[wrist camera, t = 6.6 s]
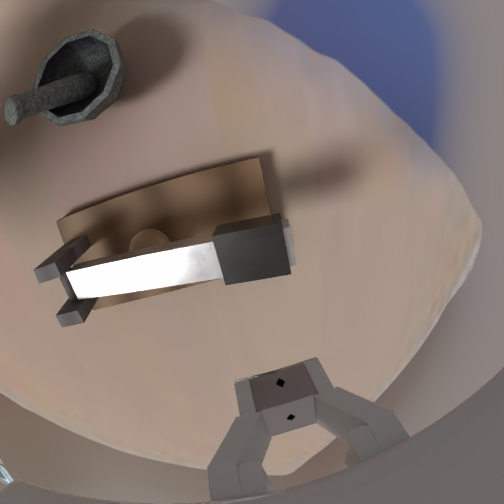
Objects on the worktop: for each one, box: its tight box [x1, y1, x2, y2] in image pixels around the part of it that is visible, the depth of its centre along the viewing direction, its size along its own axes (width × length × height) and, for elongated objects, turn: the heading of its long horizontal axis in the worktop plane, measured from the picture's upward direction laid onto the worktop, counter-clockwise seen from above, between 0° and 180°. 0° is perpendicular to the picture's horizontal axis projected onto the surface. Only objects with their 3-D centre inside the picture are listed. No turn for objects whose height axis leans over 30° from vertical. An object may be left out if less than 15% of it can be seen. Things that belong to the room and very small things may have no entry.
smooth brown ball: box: [129, 229, 170, 251], centre depth 27 cm, size 4×4×4 cm
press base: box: [34, 157, 271, 327], centre depth 26 cm, size 24×12×10 cm, turn 103°
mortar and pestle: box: [4, 29, 126, 126], centre depth 18 cm, size 11×9×12 cm
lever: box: [66, 213, 296, 300], centre depth 22 cm, size 21×4×3 cm, turn 102°
